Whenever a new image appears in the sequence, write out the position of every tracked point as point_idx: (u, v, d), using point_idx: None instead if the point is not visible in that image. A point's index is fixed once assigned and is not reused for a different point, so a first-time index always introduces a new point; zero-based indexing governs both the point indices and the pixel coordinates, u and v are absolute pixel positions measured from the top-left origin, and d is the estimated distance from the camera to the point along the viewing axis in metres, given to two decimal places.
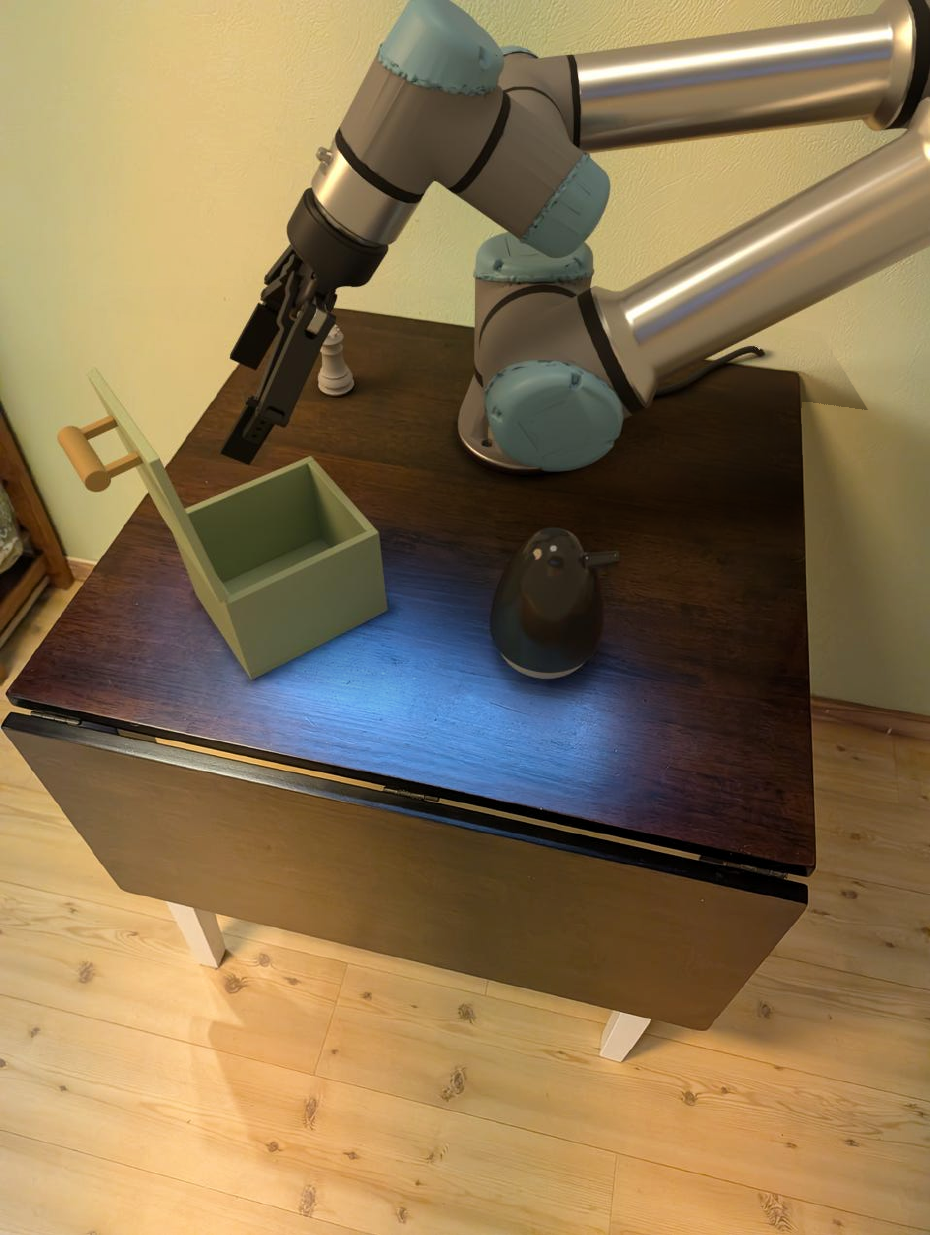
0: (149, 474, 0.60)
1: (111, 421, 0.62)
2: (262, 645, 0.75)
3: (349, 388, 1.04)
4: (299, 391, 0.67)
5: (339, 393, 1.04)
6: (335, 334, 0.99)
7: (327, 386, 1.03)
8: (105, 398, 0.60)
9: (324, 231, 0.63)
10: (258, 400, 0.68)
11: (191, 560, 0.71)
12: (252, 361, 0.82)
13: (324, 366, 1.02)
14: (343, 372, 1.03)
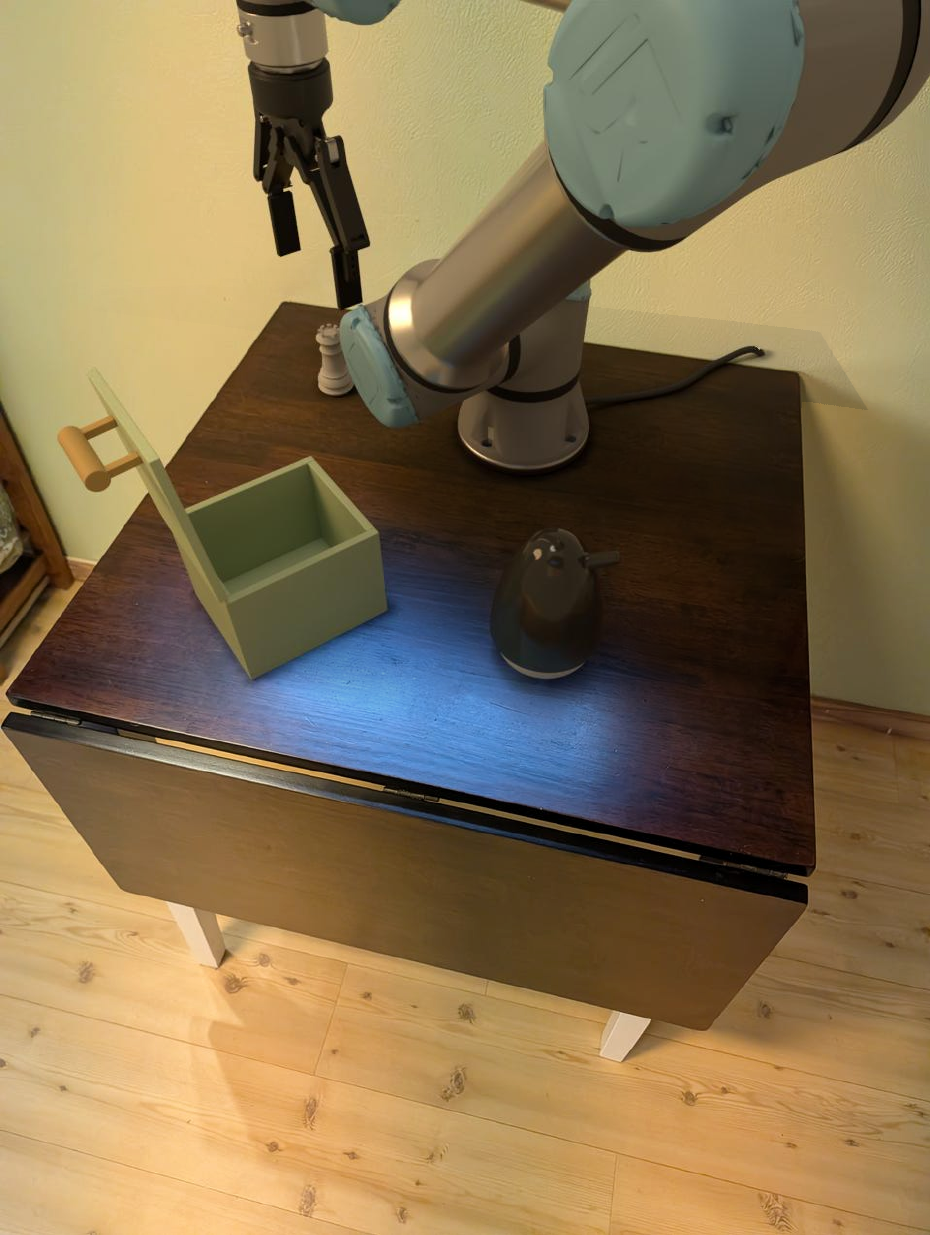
0: (149, 474, 0.60)
1: (111, 421, 0.62)
2: (262, 645, 0.75)
3: (349, 388, 1.04)
4: (359, 210, 0.81)
5: (339, 393, 1.04)
6: (335, 334, 0.99)
7: (327, 386, 1.03)
8: (105, 398, 0.60)
9: (287, 82, 0.75)
10: (339, 244, 0.83)
11: (191, 560, 0.71)
12: (294, 245, 0.96)
13: (324, 366, 1.02)
14: (343, 372, 1.03)
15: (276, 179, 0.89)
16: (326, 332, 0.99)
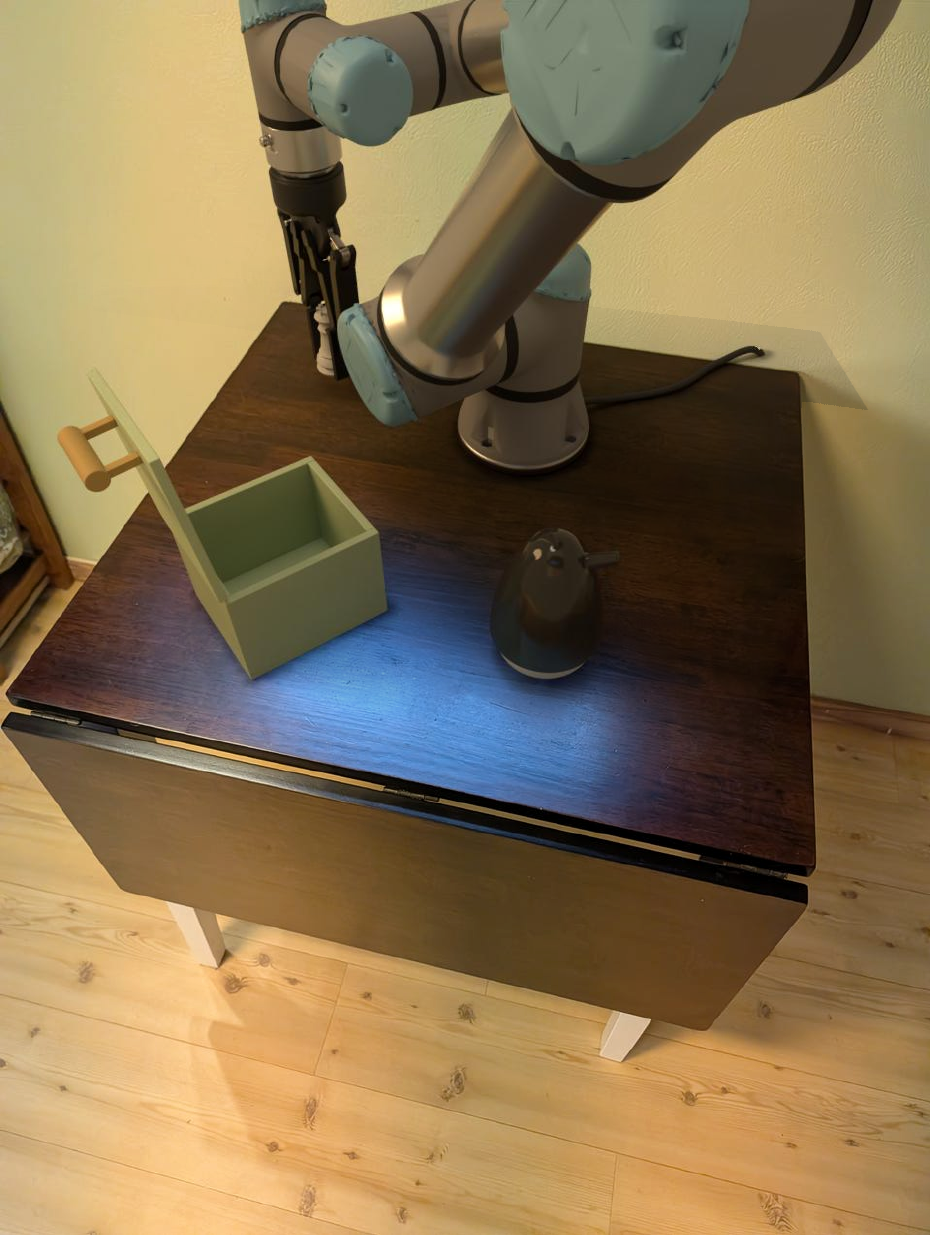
0: (149, 474, 0.60)
1: (111, 421, 0.62)
2: (262, 645, 0.75)
3: None
4: (358, 303, 0.92)
5: None
6: None
7: (326, 366, 1.00)
8: (105, 398, 0.60)
9: (304, 186, 0.83)
10: (335, 328, 0.94)
11: (191, 560, 0.71)
12: None
13: (323, 346, 0.99)
14: None
15: (310, 286, 0.96)
16: (324, 310, 0.97)
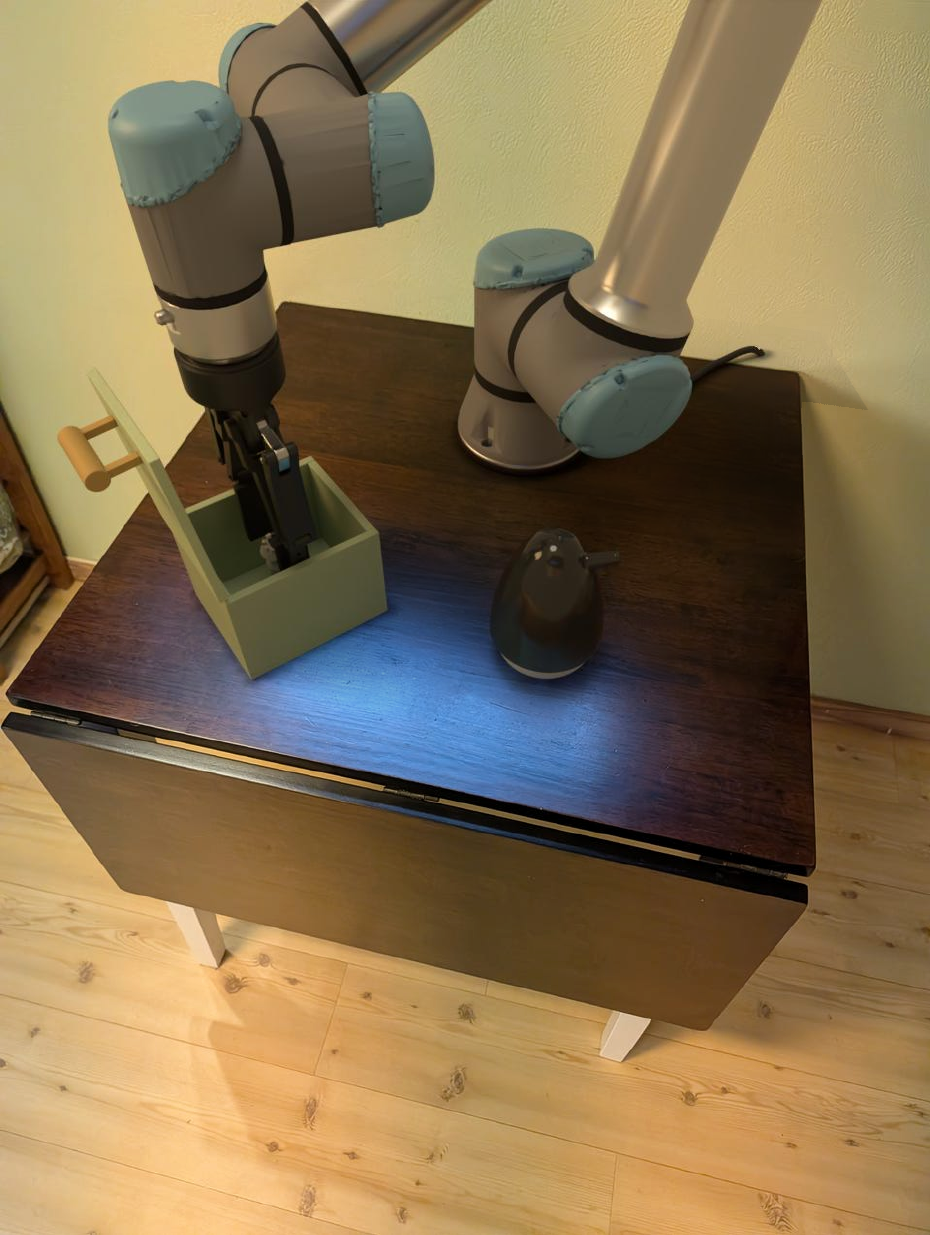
0: (149, 474, 0.60)
1: (111, 421, 0.62)
2: (262, 645, 0.75)
3: None
4: (308, 511, 0.67)
5: None
6: None
7: None
8: (105, 398, 0.60)
9: (220, 375, 0.58)
10: (281, 539, 0.69)
11: (191, 560, 0.71)
12: (268, 527, 0.79)
13: None
14: None
15: (238, 463, 0.72)
16: None
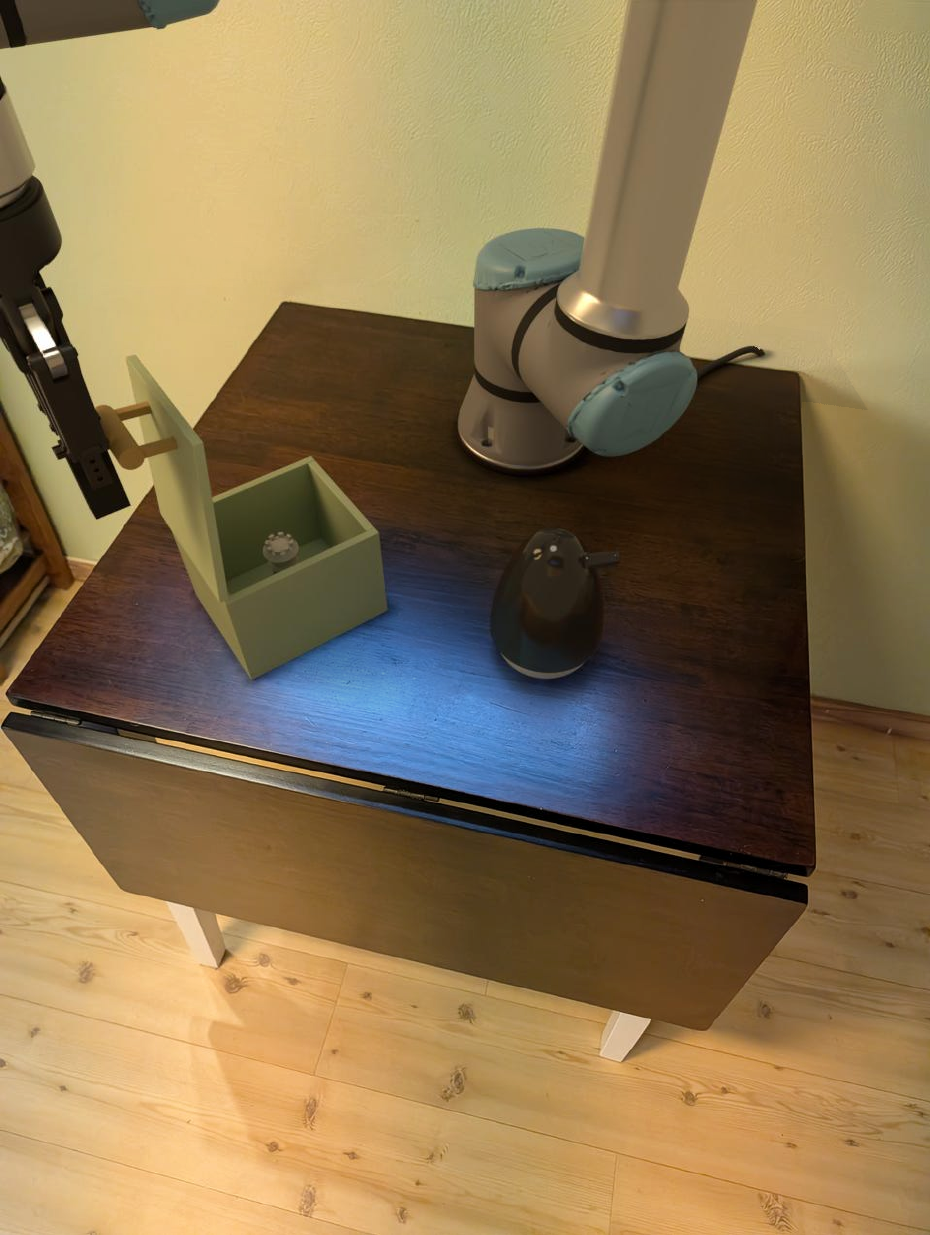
0: (180, 461, 0.61)
1: (146, 407, 0.63)
2: (262, 645, 0.75)
3: None
4: (96, 421, 0.54)
5: None
6: (287, 549, 0.76)
7: None
8: (146, 383, 0.61)
9: None
10: None
11: (192, 559, 0.71)
12: None
13: None
14: None
15: None
16: (276, 545, 0.76)
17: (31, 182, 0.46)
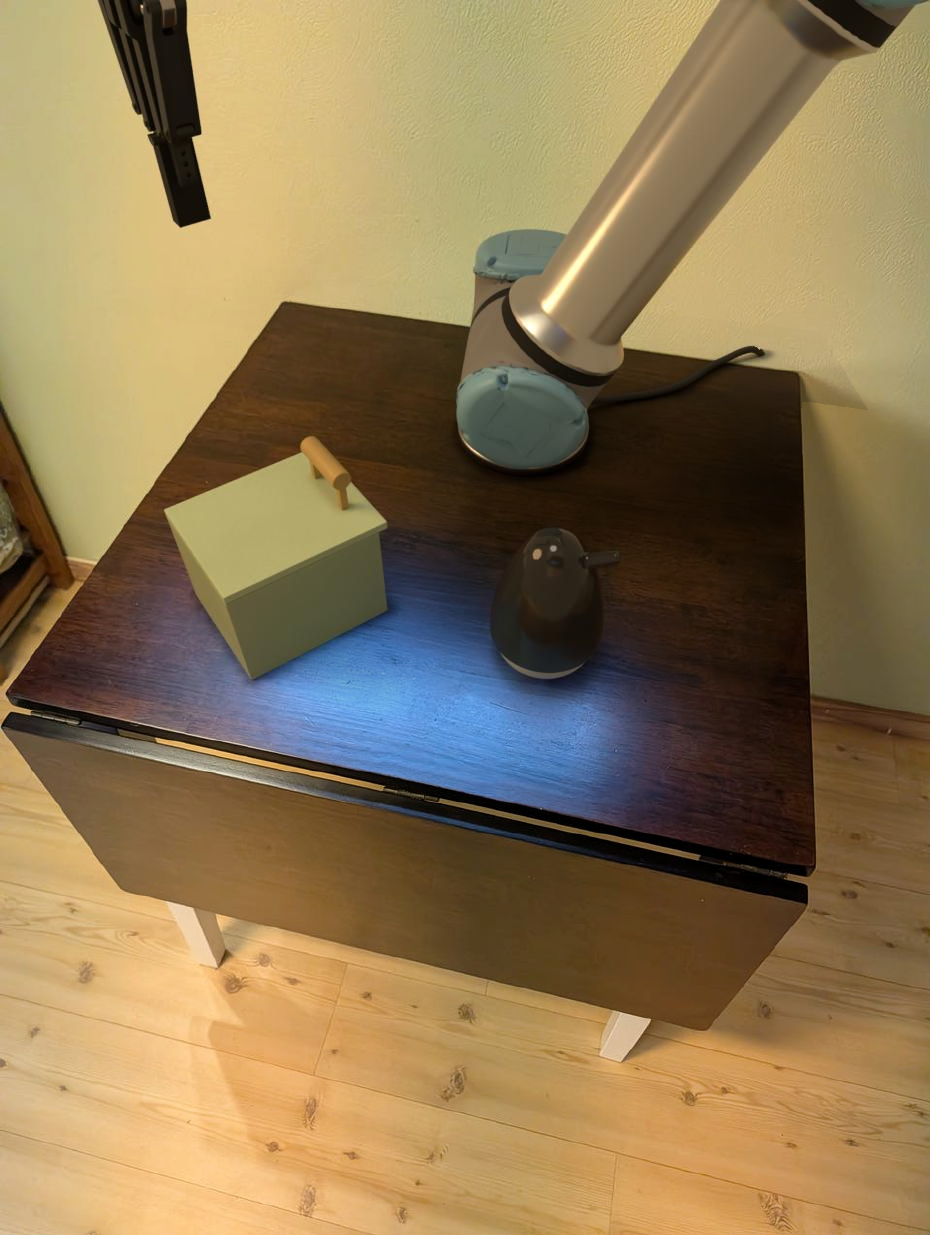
0: (331, 515, 0.74)
1: (320, 474, 0.77)
2: (262, 645, 0.75)
3: None
4: (193, 94, 0.59)
5: None
6: None
7: None
8: None
9: None
10: (163, 136, 0.62)
11: (200, 556, 0.71)
12: None
13: None
14: None
15: None
16: None
17: None
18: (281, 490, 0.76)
